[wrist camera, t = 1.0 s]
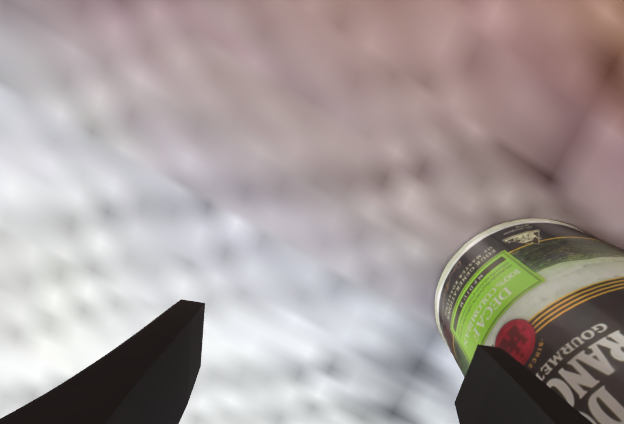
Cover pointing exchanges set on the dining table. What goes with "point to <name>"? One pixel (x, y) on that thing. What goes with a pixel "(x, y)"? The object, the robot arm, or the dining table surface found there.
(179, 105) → the dining table surface
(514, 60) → the dining table surface
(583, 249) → the coffee can
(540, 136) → the dining table surface
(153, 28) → the dining table surface
